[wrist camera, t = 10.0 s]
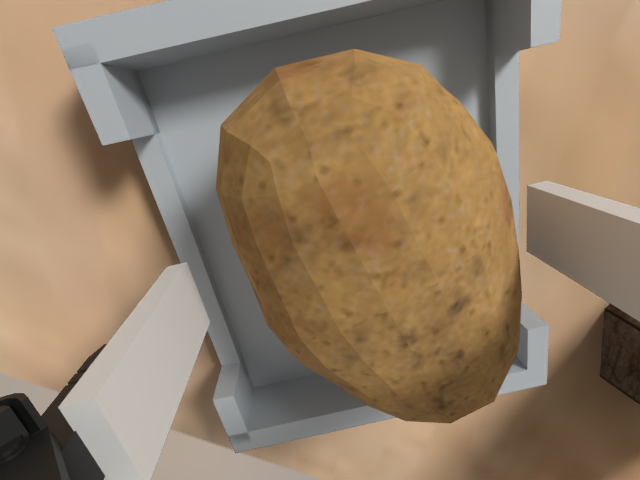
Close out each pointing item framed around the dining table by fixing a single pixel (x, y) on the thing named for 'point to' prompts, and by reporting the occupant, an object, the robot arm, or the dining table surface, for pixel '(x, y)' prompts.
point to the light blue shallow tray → (227, 94)
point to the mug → (621, 352)
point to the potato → (376, 232)
